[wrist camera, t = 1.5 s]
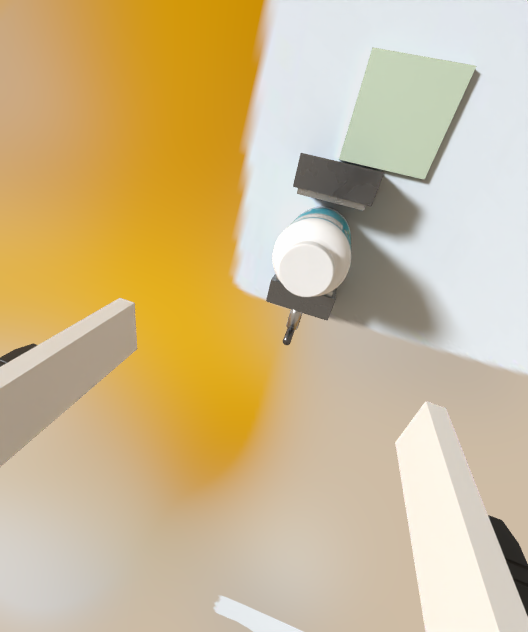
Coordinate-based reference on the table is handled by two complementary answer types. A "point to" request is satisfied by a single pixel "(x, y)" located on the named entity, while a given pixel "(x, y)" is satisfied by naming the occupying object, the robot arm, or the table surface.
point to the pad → (404, 111)
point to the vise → (332, 186)
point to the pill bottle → (313, 252)
